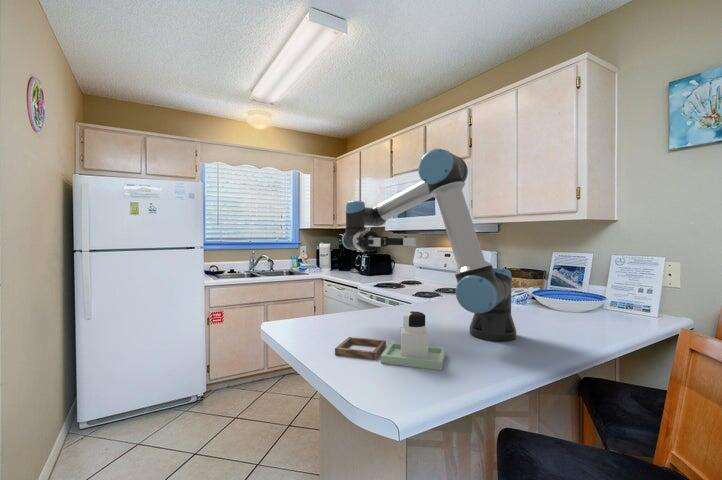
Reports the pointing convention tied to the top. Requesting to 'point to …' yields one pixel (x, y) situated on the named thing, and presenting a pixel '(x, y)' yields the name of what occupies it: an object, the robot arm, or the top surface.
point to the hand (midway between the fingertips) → (398, 242)
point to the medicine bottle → (414, 336)
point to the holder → (374, 354)
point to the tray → (433, 362)
